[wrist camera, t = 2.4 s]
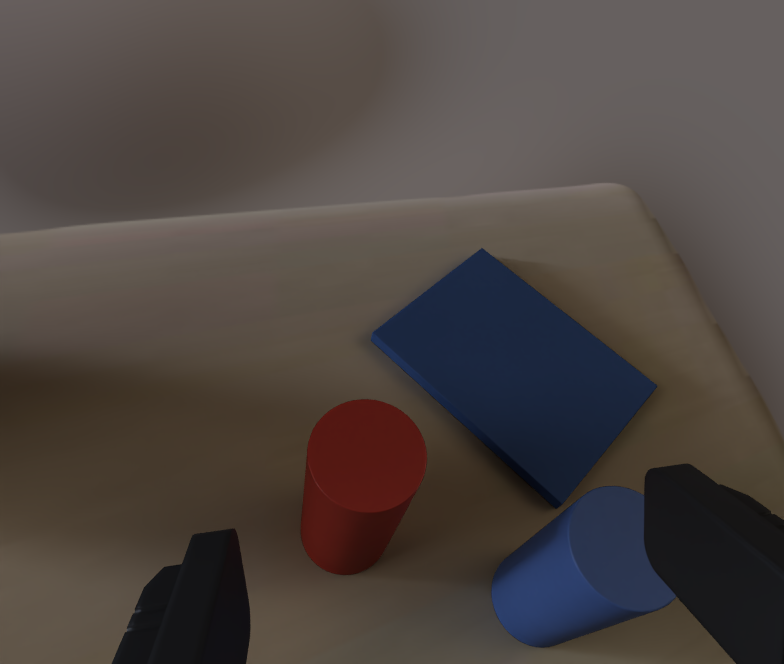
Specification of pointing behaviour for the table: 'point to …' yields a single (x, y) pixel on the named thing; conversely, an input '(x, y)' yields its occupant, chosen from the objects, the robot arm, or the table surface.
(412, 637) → the table surface
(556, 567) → the blue cylinder
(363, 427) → the red cylinder
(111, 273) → the table surface
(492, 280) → the blue mat
